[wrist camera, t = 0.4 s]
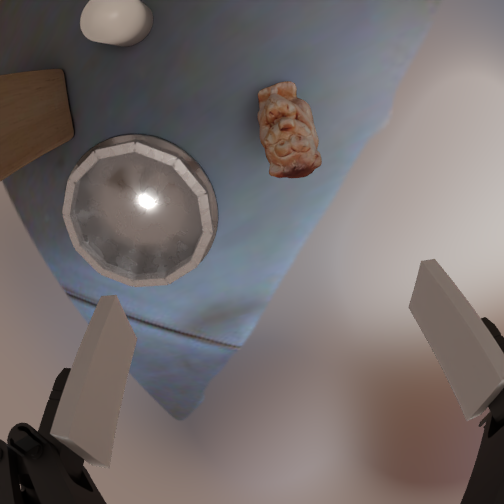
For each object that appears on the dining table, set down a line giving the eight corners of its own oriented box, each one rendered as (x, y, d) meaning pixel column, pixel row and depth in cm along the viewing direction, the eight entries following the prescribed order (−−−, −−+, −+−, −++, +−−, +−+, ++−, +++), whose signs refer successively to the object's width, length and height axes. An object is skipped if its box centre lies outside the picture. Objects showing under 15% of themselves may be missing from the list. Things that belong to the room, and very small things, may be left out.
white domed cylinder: (104, 10, 24) (79, 0, 18) (151, -4, 24) (134, -19, 18) (107, 52, 27) (82, 49, 21) (155, 40, 27) (137, 32, 21)
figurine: (289, 77, 31) (325, 78, 18) (310, 135, 35) (353, 173, 22) (239, 94, 32) (241, 106, 19) (262, 152, 36) (279, 199, 23)
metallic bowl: (50, 153, 33) (41, 158, 31) (207, 120, 33) (205, 123, 31) (93, 284, 45) (88, 293, 43) (227, 274, 45) (227, 284, 43)
